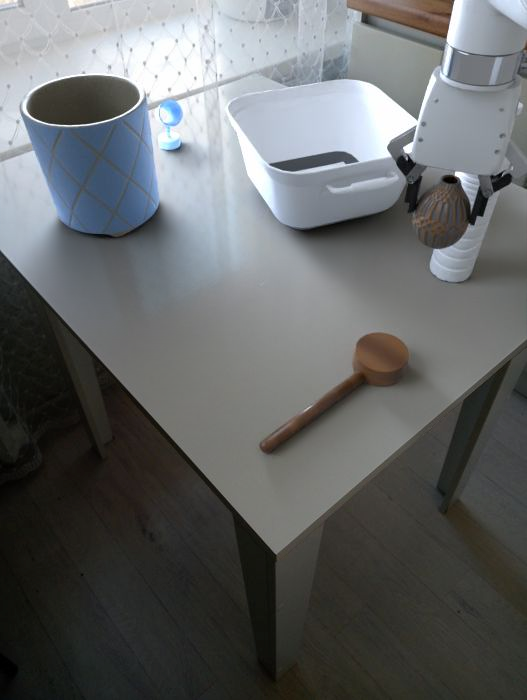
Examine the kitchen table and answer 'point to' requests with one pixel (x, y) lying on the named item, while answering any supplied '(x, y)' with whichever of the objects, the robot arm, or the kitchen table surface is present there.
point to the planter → (94, 151)
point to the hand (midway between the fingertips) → (442, 212)
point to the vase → (442, 213)
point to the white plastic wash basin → (322, 150)
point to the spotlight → (169, 124)
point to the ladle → (352, 380)
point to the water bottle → (466, 234)
